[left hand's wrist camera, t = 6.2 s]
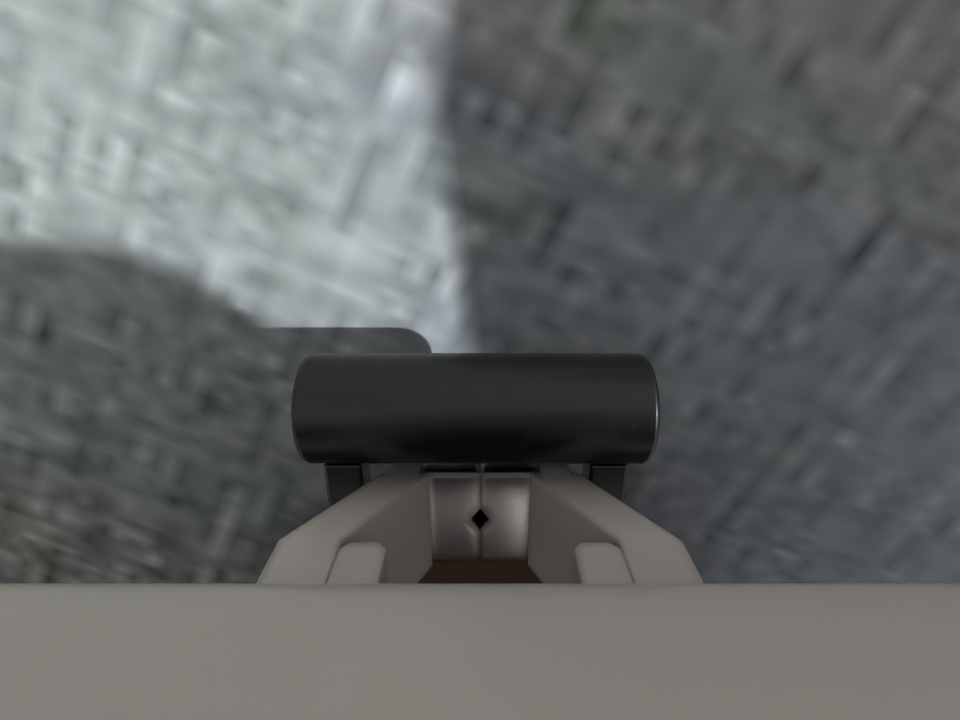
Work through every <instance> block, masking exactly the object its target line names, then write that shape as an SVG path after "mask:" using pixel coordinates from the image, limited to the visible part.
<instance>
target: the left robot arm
mask: <svg viewBox="0 0 960 720" xmlns="http://www.w3.org/2000/svg"><path fill="white" fill-rule="evenodd" d="M478 561H480V562H517V563H528V566H529V567H530V568H531V570H532V571H533V572H534V573H535V574H536V576H537V577H538V578H539V579H540V581H541V582H542V583H543V584H417V583H418V582H419V581H420V580H421V579H422V577H423V576H424V575H425V574H426V573H427V571H428V570H429V569H430V568H431V566H432V563H443V562H478ZM0 720H960V584H704V582H703V580H702V578H701V576H700V574H699V573H698V571H697V569H696V567H695V565H694V563H693V561H692V559H691V557H690V555H689V553H688V552H687V550H686V548H685V546H684V544H683V542H682V541H681V540H680V539H678V538H676V537H675V536H673V535H672V534H670V533H669V532H667V531H666V530H664V529H663V528H661V527H660V526H658V525H657V524H655V523H653V522H652V521H650V520H649V519H647V518H646V517H644V516H643V515H641V514H640V513H638V512H637V511H635V510H634V509H632V508H630V507H629V506H627V505H626V504H624V503H623V502H621V501H620V500H618V499H617V498H615V497H614V496H612V495H611V494H609V493H607V492H606V491H604V490H603V489H601V488H600V487H598V486H597V485H595V484H594V483H592V482H591V481H589V480H587V479H586V478H584V477H583V476H581V475H580V474H572V473H571V470H570V466H569V464H556V463H391V466H390V470H389V473H388V474H380V475H379V476H377V477H376V478H374V479H372V480H371V481H369V482H368V483H366V484H365V485H363V486H362V487H360V488H359V489H357V490H356V491H354V492H352V493H351V494H349V495H348V496H346V497H345V498H343V499H342V500H340V501H339V502H337V503H335V504H334V505H332V506H331V507H329V508H328V509H326V510H325V511H323V512H322V513H320V514H319V515H317V516H315V517H314V518H312V519H311V520H309V521H308V522H306V523H305V524H303V525H302V526H300V527H299V528H297V529H295V530H294V531H292V532H291V533H289V534H288V535H286V536H285V537H283V538H282V539H280V540H279V541H278V543H277V545H276V546H275V548H274V550H273V552H272V554H271V556H270V558H269V560H268V561H267V563H266V565H265V567H264V569H263V571H262V573H261V575H260V576H259V578H258V580H257V582H256V583H49V584H0Z"/></svg>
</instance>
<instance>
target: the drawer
mask: <svg viewBox="0 0 960 720" xmlns="http://www.w3.org/2000/svg"><path fill="white" fill-rule="evenodd" d="M659 426H660V400H659V391H658V385H657V381H656V377H655V373H654V370H653V368H652V365H651V363H650V361H649V360H648V359H647V358H646V357H645V356H643V355H641V354H623V353H313V354H310V355H308V356H306V357H305V358H304V360H303V361H302V363H301V365H300V367H299V369H298V372H297V376H296V380H295V384H294V389H293V396H292V429H293V436H294V441H295V445H296V448H297V451H298V453H299V455H300V457H301V458H302V459H303V460H304V461H306V462H309V463H325V465H324V469H325V477H326V484H327V492H328V500H329V507H331V506H332V505H334V504H335V503H337V502H339V501H340V500H342V499H343V498H345V497H346V496H348V495H349V494H351V493H352V492H354V491H356V490H357V489H359V488H360V487H362V486H363V485H365V484H366V483H368V482H369V481H371V476H370V465H369V463H556V464H583V474H582V476H583V477H584V478H586V479H587V480H589V481H591V482H592V483H594V484H595V485H597V486H598V487H600V488H601V489H603V490H604V491H606V492H607V493H609V494H611V495H612V496H614V497H615V498H617V499H618V500H620V501H621V502H623V501H624V493H625V485H626V477H627V469H628V466H627V464H641V463H644V462H646V461H648V460H649V459H650V458H651V457H652V455H653V453H654V450H655V447H656V444H657V439H658V433H659ZM417 584H543V583H542V582H541V581H540V579H539V578H538V577H537V576H536V574H535V573H534V572H533V571H532V570H531V568H530V567H529V566H528V563H517V562H480V561H478V562H443V563H432V566H431V568H430V569H429V570H428V571H427V573H426V574H425V575H424V576H423V577H422V579H421V580H420V581H419V582H418V583H417Z"/></svg>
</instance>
